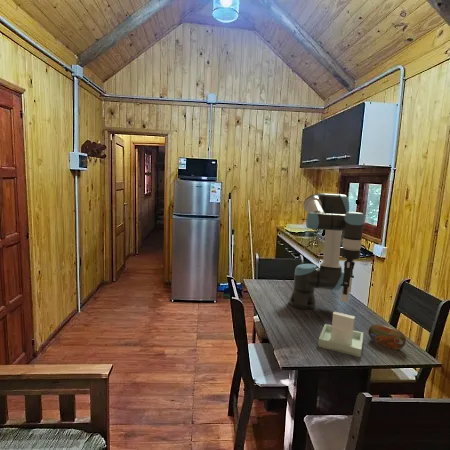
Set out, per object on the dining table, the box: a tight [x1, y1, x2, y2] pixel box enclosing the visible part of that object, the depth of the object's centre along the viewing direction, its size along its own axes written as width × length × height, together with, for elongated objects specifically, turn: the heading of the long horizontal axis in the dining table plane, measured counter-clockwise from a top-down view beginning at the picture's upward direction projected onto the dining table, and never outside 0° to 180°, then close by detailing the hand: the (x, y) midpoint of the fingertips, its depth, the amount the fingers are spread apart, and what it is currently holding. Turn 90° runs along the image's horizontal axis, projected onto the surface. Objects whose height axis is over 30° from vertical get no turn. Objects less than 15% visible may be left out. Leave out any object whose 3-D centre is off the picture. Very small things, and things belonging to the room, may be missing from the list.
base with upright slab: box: [331, 311, 356, 345], centre depth 142 cm, size 9×9×12 cm
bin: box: [317, 323, 364, 358], centre depth 143 cm, size 17×17×4 cm
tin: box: [368, 323, 407, 351], centre depth 143 cm, size 15×3×8 cm, turn 45°
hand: (345, 296), depth 140 cm, fingers open, 13 cm apart
